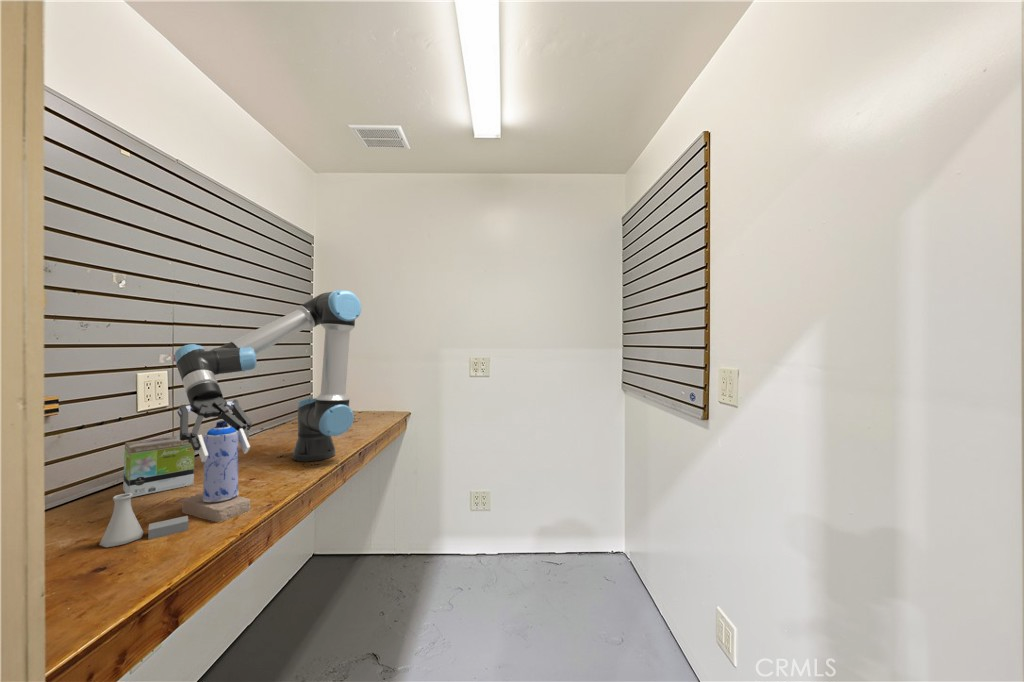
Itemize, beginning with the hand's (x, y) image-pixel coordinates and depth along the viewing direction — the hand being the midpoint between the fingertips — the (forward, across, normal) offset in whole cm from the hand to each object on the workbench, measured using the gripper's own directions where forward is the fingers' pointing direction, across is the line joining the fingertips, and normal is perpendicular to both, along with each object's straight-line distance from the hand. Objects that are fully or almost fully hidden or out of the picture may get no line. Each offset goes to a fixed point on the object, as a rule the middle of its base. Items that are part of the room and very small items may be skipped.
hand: (226, 454), depth 104 cm
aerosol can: (+6, 0, -11) cm, 12 cm away
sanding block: (+12, +12, -10) cm, 20 cm away
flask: (+9, +19, -13) cm, 25 cm away
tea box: (-16, +4, -38) cm, 41 cm away
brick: (+9, +1, -14) cm, 17 cm away
